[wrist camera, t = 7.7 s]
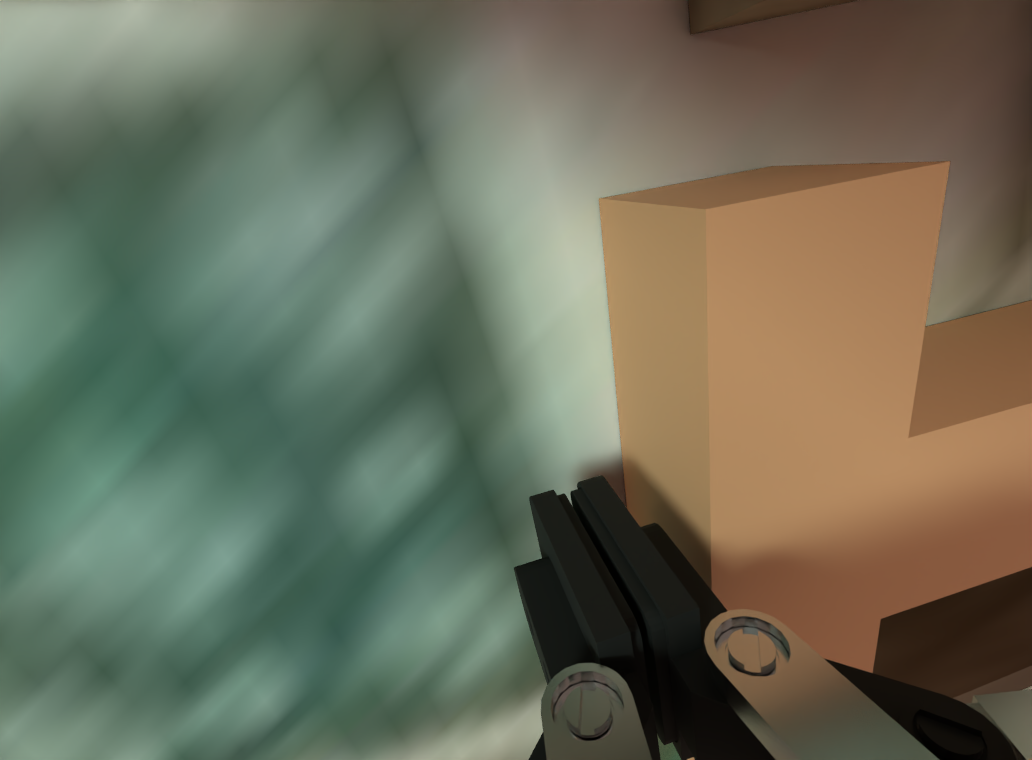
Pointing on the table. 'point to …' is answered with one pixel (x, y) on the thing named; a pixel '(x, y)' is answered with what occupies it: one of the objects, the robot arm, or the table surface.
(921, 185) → the t block
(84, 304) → the table surface
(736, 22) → the brown wooden rack
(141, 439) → the table surface
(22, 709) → the table surface
